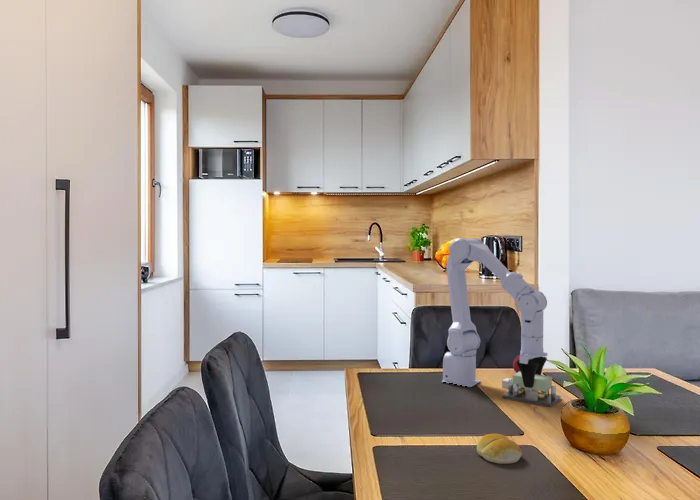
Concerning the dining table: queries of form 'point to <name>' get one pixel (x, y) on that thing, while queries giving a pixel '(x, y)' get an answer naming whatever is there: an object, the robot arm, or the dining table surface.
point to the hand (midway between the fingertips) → (531, 384)
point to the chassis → (531, 395)
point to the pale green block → (539, 382)
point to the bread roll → (498, 449)
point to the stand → (506, 383)
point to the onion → (516, 364)
